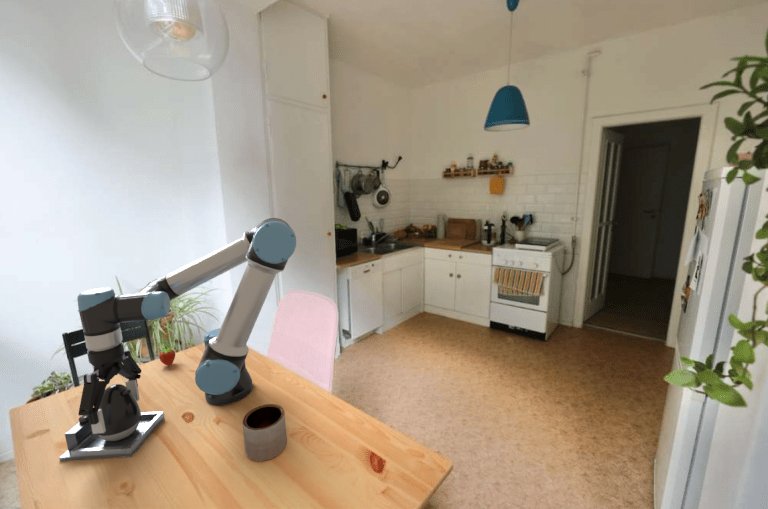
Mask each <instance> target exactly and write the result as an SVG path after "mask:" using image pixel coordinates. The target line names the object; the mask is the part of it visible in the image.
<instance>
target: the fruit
mask: <svg viewBox="0 0 768 509" xmlns="http://www.w3.org/2000/svg"><path fill="white" fill-rule="evenodd" d="M159 351H161V352H160V353H159V355H158V359H159V360H160V362H161V363H162V364H164V365H165V366H168V367H169V366H171V365H173V363H174V361H175V358H176V351H175V350H174V349H173V347H171V346H169V347H165V348H164V347H162V349H160V350H159Z"/></svg>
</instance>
